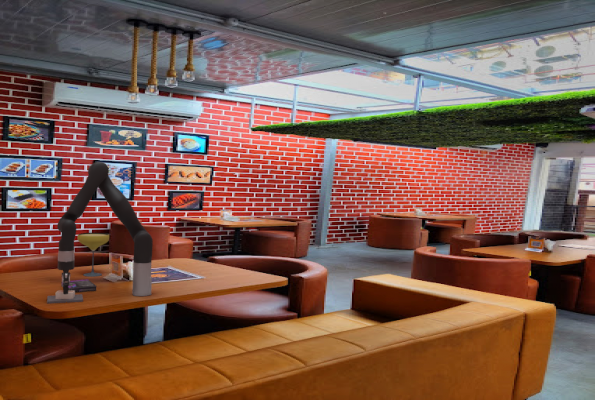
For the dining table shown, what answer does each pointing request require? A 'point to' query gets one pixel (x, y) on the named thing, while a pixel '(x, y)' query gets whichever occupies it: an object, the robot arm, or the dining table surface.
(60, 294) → the white rectangular block
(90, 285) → the box
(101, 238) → the cocktail glass
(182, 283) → the dining table surface
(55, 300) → the rubber mat
